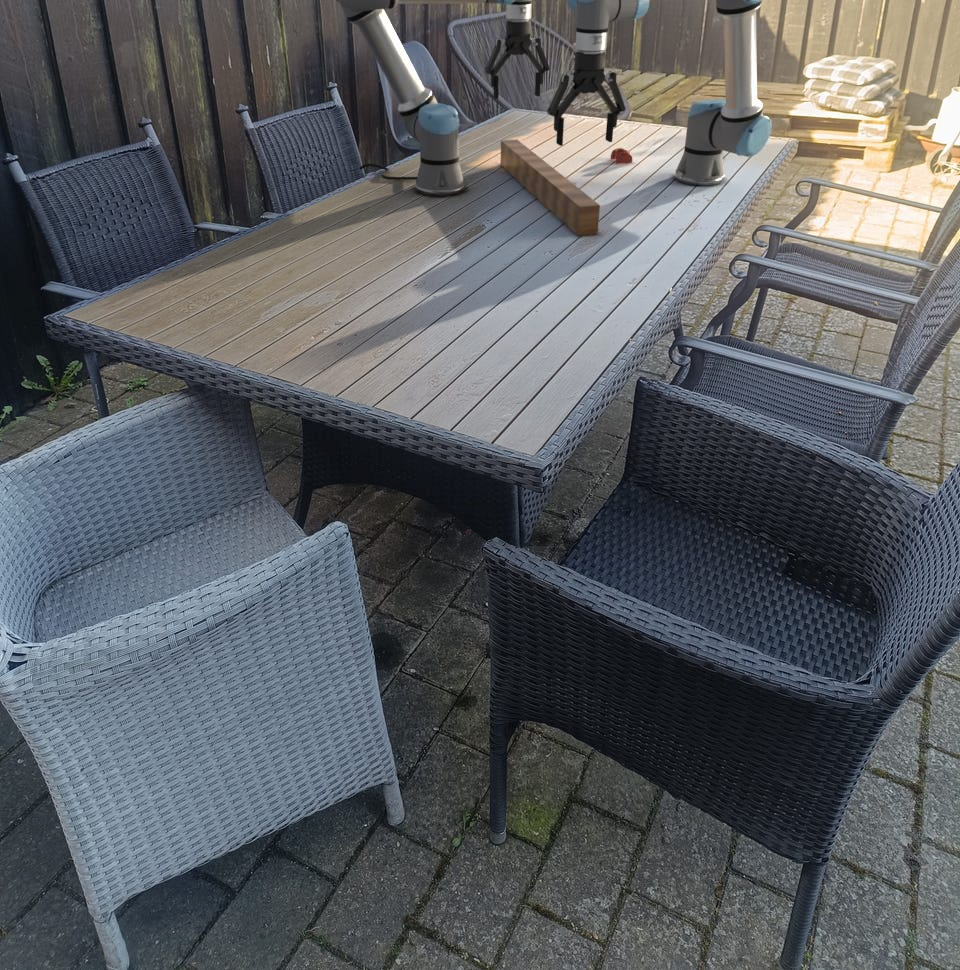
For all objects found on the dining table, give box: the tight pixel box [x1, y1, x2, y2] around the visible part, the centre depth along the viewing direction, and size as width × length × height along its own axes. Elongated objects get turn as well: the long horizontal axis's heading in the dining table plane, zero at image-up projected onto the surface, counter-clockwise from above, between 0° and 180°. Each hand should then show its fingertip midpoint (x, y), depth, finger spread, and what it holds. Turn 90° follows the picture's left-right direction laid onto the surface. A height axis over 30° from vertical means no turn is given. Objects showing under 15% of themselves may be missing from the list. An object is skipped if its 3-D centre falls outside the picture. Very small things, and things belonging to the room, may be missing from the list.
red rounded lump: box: [610, 147, 633, 165], centre depth 283 cm, size 6×4×8 cm
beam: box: [500, 139, 601, 237], centre depth 251 cm, size 73×6×8 cm, turn 15°
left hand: (516, 97), depth 264 cm, fingers open, 13 cm apart
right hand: (584, 142), depth 218 cm, fingers open, 13 cm apart
